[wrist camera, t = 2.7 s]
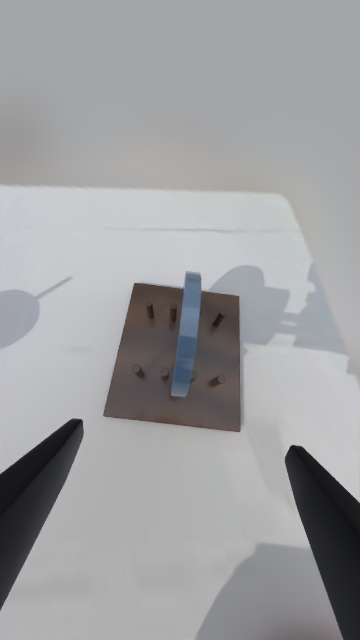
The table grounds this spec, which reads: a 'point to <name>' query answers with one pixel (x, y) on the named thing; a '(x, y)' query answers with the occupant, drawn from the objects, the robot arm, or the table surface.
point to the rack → (158, 358)
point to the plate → (186, 335)
